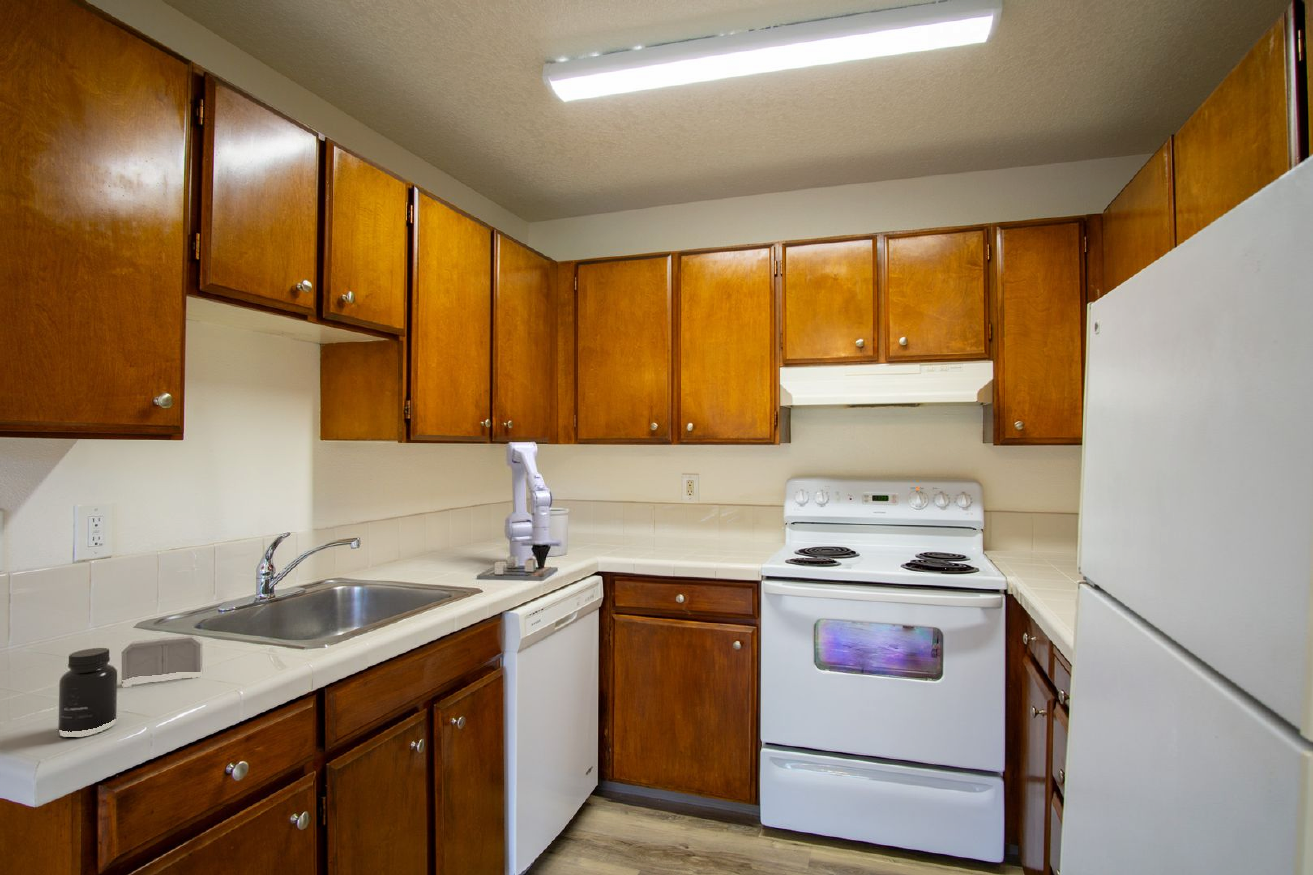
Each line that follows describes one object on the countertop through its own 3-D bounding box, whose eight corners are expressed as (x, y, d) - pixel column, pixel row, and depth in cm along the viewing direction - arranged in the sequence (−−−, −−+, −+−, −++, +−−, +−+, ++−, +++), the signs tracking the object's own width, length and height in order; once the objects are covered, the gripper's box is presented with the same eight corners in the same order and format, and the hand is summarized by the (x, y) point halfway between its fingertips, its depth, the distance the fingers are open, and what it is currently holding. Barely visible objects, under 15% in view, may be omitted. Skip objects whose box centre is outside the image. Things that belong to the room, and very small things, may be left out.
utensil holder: (553, 549, 269) (553, 506, 270) (576, 553, 259) (576, 508, 259) (523, 553, 259) (523, 509, 259) (546, 558, 248) (546, 512, 249)
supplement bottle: (62, 744, 97) (61, 662, 97) (55, 730, 102) (55, 652, 102) (121, 728, 102) (121, 651, 102) (112, 716, 107) (112, 642, 107)
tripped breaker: (527, 569, 219) (527, 557, 219) (535, 569, 219) (535, 558, 219) (524, 571, 216) (524, 559, 216) (532, 571, 216) (532, 559, 216)
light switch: (124, 684, 121) (124, 642, 121) (202, 674, 126) (202, 633, 126) (121, 687, 120) (121, 644, 120) (200, 677, 124) (200, 636, 124)
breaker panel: (496, 569, 228) (496, 554, 228) (557, 570, 224) (557, 555, 224) (476, 579, 212) (476, 563, 212) (542, 580, 209) (542, 564, 209)
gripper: (515, 528, 214) (515, 569, 214) (558, 528, 212) (559, 570, 212) (523, 525, 221) (523, 565, 221) (564, 525, 219) (565, 566, 219)
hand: (541, 568), depth 217 cm, fingers closed
